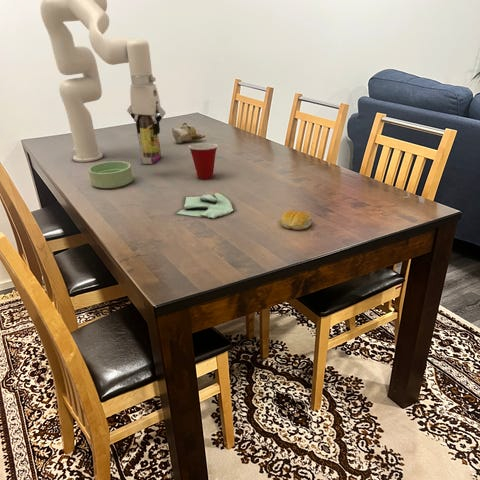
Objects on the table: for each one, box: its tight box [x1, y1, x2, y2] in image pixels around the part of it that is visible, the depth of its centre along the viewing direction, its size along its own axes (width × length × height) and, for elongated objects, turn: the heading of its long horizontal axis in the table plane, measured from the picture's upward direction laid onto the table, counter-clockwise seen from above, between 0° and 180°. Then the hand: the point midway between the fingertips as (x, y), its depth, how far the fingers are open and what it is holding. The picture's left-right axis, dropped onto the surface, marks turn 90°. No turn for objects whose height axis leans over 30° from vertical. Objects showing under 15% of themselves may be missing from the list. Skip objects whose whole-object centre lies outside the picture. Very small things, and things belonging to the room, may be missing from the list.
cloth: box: [176, 192, 235, 220], centre depth 158 cm, size 20×22×2 cm
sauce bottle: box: [139, 115, 159, 158], centre depth 178 cm, size 6×6×20 cm
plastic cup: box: [188, 142, 219, 180], centre depth 180 cm, size 11×11×12 cm
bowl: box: [88, 160, 134, 189], centre depth 180 cm, size 15×15×6 cm
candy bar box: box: [135, 125, 162, 165], centre depth 200 cm, size 11×5×16 cm, turn 168°
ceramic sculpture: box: [171, 122, 206, 144], centre depth 227 cm, size 11×9×15 cm
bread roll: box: [280, 210, 313, 231], centre depth 141 cm, size 8×9×4 cm
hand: (148, 132), depth 179 cm, fingers closed on sauce bottle, 6 cm apart
